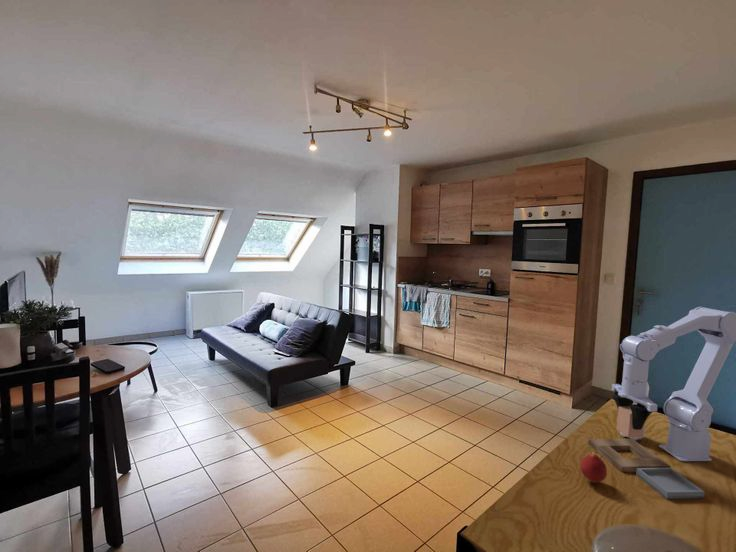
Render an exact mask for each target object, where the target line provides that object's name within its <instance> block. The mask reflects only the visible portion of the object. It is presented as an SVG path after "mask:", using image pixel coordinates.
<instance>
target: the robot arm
mask: <svg viewBox="0 0 736 552" xmlns="http://www.w3.org/2000/svg"><path fill="white" fill-rule="evenodd" d="M694 331H697V332H698V333H699V334H700V336H702V337H703V338H704V340H705V344H704V346H703V349H702V350H701V352H700V355H699V357H698V359H697V361H696V363H695V364H694V367H693V369H692V371H691V373H690V376H689V377H688V379H687V381H686V384H685V385H684V388H683V389H680V390H679V389H678V390H677V391H675V390H674V391H672V393H671V395H670V396H669V398H668V399H666V401H664V404H663V409H662V410H663V413H664V414H665V415H666V416H667V419H666V420H667V421H668V432H667V439H666V440H667V442H666V444H658V447H659V448H661V450H663V451H665V452H667V453H668V454H670V455H671V456H673V457H674V458H676V459H677V460H679V461H680V462H712V458H711V457H710V452H711V442H712V437H711V433H710V431H709V430H708V428H709V427H710V425H711V422H712V415H713V412H714V408H713V407H712V405H711V404H710V403H709V401H708V399H707V398H708V397H709V394H710V393H711V391H712V389H713V386H714V385H715V382H716V381H717V378H718V377H719V374H720V372H721V369H722V368H723V366H724V364H725V362H726V360H727V358H728V356H729V353H730V352H731V349H732V347H733V345H734V344H735V343H736V312H734V311H726V310H719V309H714V308H708V307H704V306H698V307H695V308H692V309H691V310H689V312H688V313H687V315H685V316H684V317H681V318H680V319H678V320H677V321H674V322H673V323H671V324H669V325H668V326H666V325H658V324H656V325H654V326H653V328H652V329H649V330H647V331H645V332H641V333H639V334H637V335H628V336H627V337H625V338H624V339H623V340H622V342H621V343H620V344H619V349H620V351H621V353H622V358H623V360H624V361H623V369H622V379H621V380H622V381H621V384H619V383H612V384H611V391H613V392H616V394H612V399H613V400H614V402H615V404H616V408H617V409H618V408H619V406H630V408H631V411H632V417H633V420H632V425H633V429H635V430H641V429H642V427H643V425H644V426H645V424H644V423H646V421H647V419H648V418H649V416H651V414H652V413H655V412H658V404H657V403H655V402H654V401H652V399H650V398H649V396H648V397H647V396H646V389H647V382H648V378H649V367H650V360H653V359H654V358H655V357H656V354H657V353H659V351H661V350H662V349H665V348H667V347H669V346H672V345H673V344H675V343H676V341H677V338H678V337H681V336H684V335H686V334H689V333H692V332H694ZM633 402H636V403H637V405H636V404H633ZM691 403H692V404H691Z"/></svg>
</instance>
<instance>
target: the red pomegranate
mask: <svg viewBox="0 0 736 552" xmlns="http://www.w3.org/2000/svg"><path fill="white" fill-rule="evenodd" d="M580 471H581V473H582V475H583V476H584V478H586V479H587V480H588V481H589V482H590V483H592V484H594V483H600V482H602V481H604V480H605V479H606V478H607V474H608V473H607V472H608V471H607V466H606V464H605V462H604V461H603V460H602V459H601V458H600V457H599V456H598V455H597V454H596V453H595V452H590V454H588V455H586V456H584V457H583V458H582V460H581V461H580Z"/></svg>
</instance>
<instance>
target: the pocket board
mask: <svg viewBox="0 0 736 552" xmlns="http://www.w3.org/2000/svg"><path fill="white" fill-rule="evenodd" d="M587 444H588V445H589V446H590V447H591V448H593V450H595V451H596V452H597V453H598V454H599V455H601V456H602V457H603V458H604V459H606V461H607V462H609V463H610V464H612V465H613V466H614V467H615V468H616V469H617V470H619V471H620V472H621V473H628V472H630V473H634V472H636V470H637V468H672V466H671V465H670V464H669V463H668V462H666V461H664V460H663V459H661V458H660V457H659V456H657V455H656V454H654V453H653V452H652V451H650V450H648V449H647V448H646V447H644V446H643V445H642V444H640V443H639V442H637V440H633V439H630V438H588V441H587ZM617 451H629V452H631V453H632V454H633V455H634V456H636V457H637V458H634V457H633V458H632V457H629V458H625V457H624V456H622V455H621V454H620V453H619V452H617Z"/></svg>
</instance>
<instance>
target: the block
mask: <svg viewBox="0 0 736 552" xmlns="http://www.w3.org/2000/svg"><path fill="white" fill-rule="evenodd" d="M616 419H617V422H616V430H617V431H618V432H619V431H620V432H621V433H622V434H624V435H625V436H626V437H627V438H629V437H643V434H644V428H645V423H646V422H645V423H644V425H643V427H642V429H641V430H635V429H633V425H632V420H633V417H632V411H631V408H630V406H619V408H617V418H616ZM620 432H619V433H620ZM643 438H644V437H643Z"/></svg>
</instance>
